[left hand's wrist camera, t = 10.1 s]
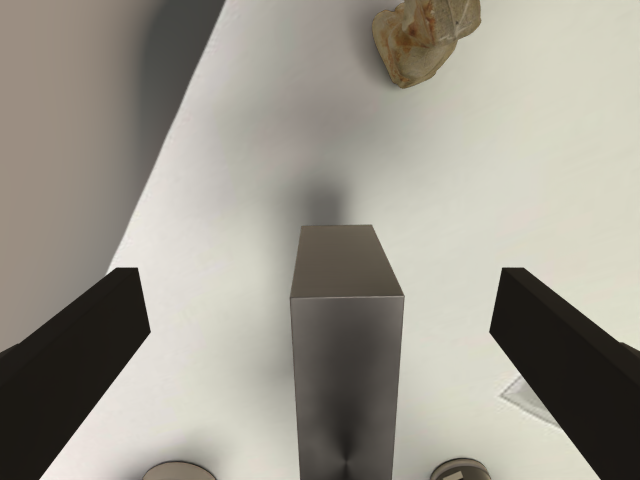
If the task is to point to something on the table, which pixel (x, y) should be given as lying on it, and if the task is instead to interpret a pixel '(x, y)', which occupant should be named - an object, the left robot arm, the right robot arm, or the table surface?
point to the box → (345, 353)
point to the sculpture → (422, 36)
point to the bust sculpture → (177, 472)
